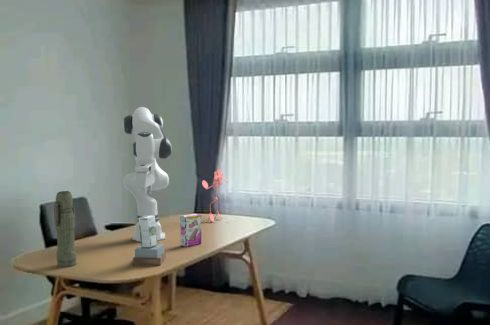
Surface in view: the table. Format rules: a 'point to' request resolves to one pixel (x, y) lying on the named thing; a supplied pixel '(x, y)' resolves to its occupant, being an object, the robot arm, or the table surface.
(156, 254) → the tower top
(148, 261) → the tower bottom
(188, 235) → the candy bar box
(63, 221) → the thermos
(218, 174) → the figurine
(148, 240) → the syrup box
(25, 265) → the table surface
